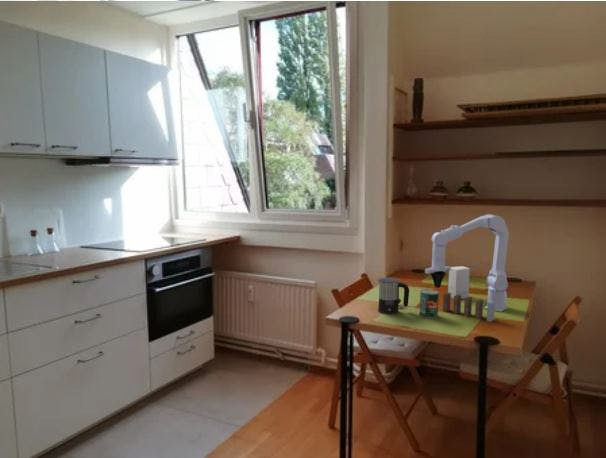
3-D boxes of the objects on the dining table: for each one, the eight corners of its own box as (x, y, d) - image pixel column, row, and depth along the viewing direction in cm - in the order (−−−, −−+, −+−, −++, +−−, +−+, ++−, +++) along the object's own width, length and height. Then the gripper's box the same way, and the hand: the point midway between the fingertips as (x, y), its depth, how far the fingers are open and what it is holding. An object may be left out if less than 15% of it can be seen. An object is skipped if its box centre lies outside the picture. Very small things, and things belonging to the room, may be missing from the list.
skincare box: (460, 295, 235) (462, 265, 233) (469, 298, 228) (470, 268, 227) (447, 296, 232) (448, 266, 230) (455, 299, 226) (456, 269, 224)
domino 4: (478, 316, 200) (479, 298, 199) (482, 317, 199) (483, 299, 198) (474, 318, 197) (475, 300, 196) (478, 319, 196) (479, 301, 195)
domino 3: (467, 313, 203) (468, 296, 202) (471, 314, 202) (472, 297, 201) (463, 315, 200) (464, 298, 199) (467, 316, 199) (468, 298, 198)
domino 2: (457, 311, 207) (457, 294, 206) (460, 312, 206) (461, 295, 205) (453, 313, 204) (453, 296, 203) (456, 314, 203) (457, 296, 202)
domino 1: (446, 309, 210) (447, 292, 209) (450, 309, 209) (450, 293, 208) (442, 311, 207) (443, 294, 206) (446, 311, 206) (446, 294, 205)
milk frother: (382, 315, 201) (383, 282, 199) (368, 305, 216) (369, 274, 214) (411, 312, 205) (412, 280, 203) (395, 303, 220) (396, 273, 218)
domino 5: (490, 318, 196) (491, 300, 195) (493, 319, 195) (494, 301, 194) (486, 320, 194) (487, 302, 193) (490, 321, 192) (491, 303, 191)
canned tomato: (423, 311, 206) (424, 288, 204) (440, 315, 201) (441, 291, 199) (416, 316, 200) (417, 291, 198) (433, 319, 195) (434, 294, 193)
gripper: (433, 261, 202) (432, 291, 203) (456, 258, 209) (455, 287, 211) (422, 258, 208) (421, 287, 210) (444, 256, 215) (443, 284, 217)
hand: (437, 287), depth 210 cm, fingers closed
